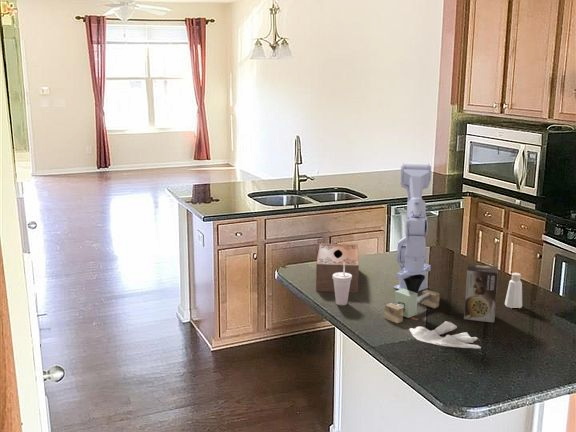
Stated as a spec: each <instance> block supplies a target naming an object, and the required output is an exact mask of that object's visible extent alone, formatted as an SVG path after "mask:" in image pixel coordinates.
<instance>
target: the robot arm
mask: <svg viewBox="0 0 576 432" xmlns="http://www.w3.org/2000/svg"><path fill="white" fill-rule="evenodd" d="M431 179H432V165H430V164H429V163H427V164H422V163H421V164H418V163H417V164H413V163H402V164H401V165H400V185H401V188H404V189H405V190H406V193H407V202H406V219H405V226H404V227H405V228H404V229H405V231H404V233H405V235H404V237H402V238H400V239H399V240H398V242H397V246H396V247H397V249H396V262H397V264H399V272H397V273H396V280H398V281H399V283H398V284H396V285H394V286H393V288H394V289H396V290H400V289H406V290H409V291H412V292H415V293H418V294H419V292H422V291H424V290H427V289H428V288H429V287H428V285H427V276H428V275H427V274H428V272H431V264H427V263H426V262H427V244H426V237H427V235H428V228H429V224H428V223H429V222H428V218H427V216H428V215H427V214H426V212H427V211H426V210H427V209H426V208H427V206H426V205H427V204H426V201H425V200H424V199H423V190H425V189H428V188H429V186H430V183H431V182H432V181H431Z"/></svg>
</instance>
